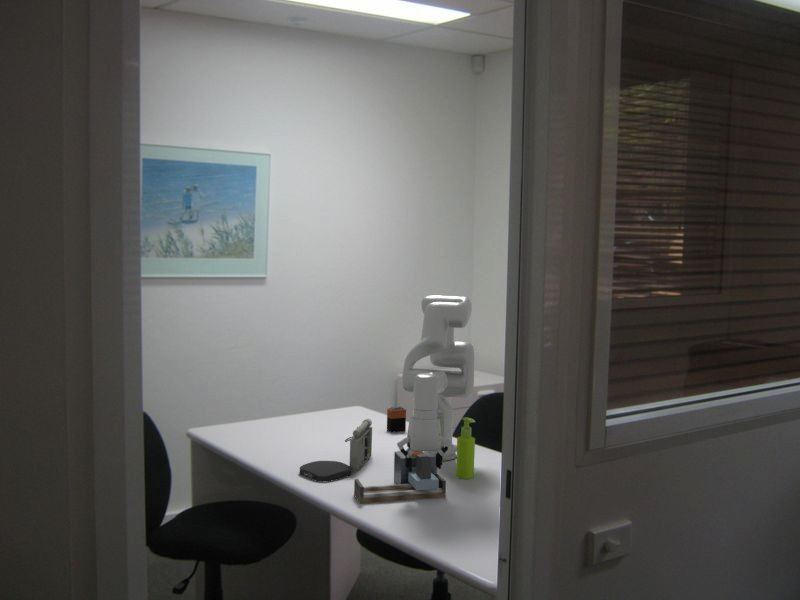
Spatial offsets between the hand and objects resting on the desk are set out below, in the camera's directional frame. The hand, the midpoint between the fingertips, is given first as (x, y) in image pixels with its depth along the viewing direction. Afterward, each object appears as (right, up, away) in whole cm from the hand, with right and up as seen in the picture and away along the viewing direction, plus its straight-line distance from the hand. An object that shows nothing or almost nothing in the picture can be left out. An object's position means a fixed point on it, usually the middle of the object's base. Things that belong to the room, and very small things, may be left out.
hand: (423, 468), depth 250 cm
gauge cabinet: (-2, -7, +10) cm, 13 cm away
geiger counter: (-21, -5, +35) cm, 41 cm away
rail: (-7, -8, -1) cm, 11 cm away
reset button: (-2, 0, +10) cm, 10 cm away
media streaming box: (-32, -6, +19) cm, 38 cm away
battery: (-9, -1, +79) cm, 80 cm away
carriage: (0, -5, 0) cm, 5 cm away
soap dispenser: (+15, -7, +20) cm, 25 cm away
